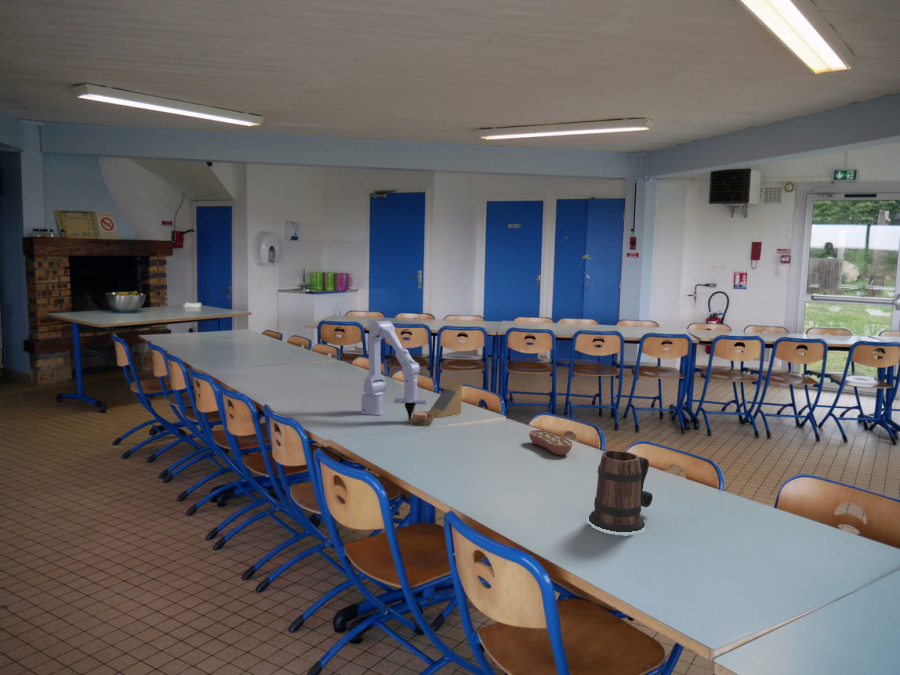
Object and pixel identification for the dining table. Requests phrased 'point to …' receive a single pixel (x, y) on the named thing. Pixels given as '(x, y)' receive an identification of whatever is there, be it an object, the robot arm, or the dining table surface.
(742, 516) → the dining table surface
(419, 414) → the cart
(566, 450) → the brown bread loaf
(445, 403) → the sandwich container
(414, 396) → the robot arm
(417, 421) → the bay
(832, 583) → the dining table surface
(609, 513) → the tankard
